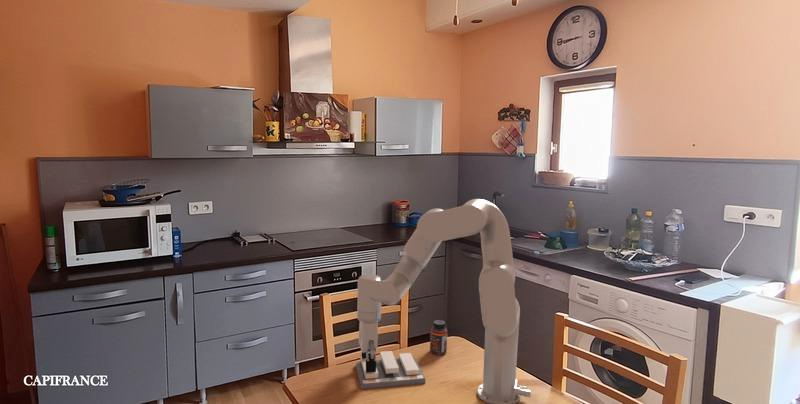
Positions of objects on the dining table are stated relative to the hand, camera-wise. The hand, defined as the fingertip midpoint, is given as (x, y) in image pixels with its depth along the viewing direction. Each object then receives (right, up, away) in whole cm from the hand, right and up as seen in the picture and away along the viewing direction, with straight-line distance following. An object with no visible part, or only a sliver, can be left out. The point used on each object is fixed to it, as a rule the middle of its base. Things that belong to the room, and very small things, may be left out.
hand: (368, 364), depth 158 cm
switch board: (+7, -3, +1) cm, 8 cm away
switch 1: (0, -2, 0) cm, 2 cm away
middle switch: (+7, 0, +1) cm, 7 cm away
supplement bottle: (+24, -1, +17) cm, 29 cm away
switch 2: (+13, -1, +3) cm, 13 cm away
